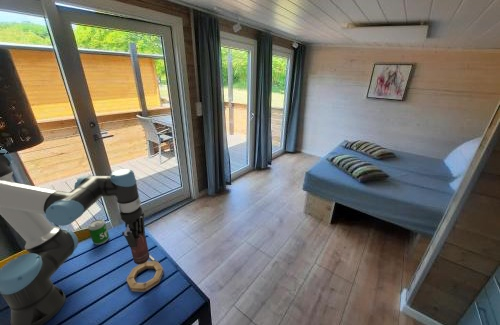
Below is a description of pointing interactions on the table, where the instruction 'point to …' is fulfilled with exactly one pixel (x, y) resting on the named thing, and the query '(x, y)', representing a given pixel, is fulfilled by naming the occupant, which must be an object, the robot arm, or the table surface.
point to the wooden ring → (149, 284)
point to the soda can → (98, 231)
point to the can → (140, 249)
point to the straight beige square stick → (151, 258)
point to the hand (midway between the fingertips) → (140, 253)
